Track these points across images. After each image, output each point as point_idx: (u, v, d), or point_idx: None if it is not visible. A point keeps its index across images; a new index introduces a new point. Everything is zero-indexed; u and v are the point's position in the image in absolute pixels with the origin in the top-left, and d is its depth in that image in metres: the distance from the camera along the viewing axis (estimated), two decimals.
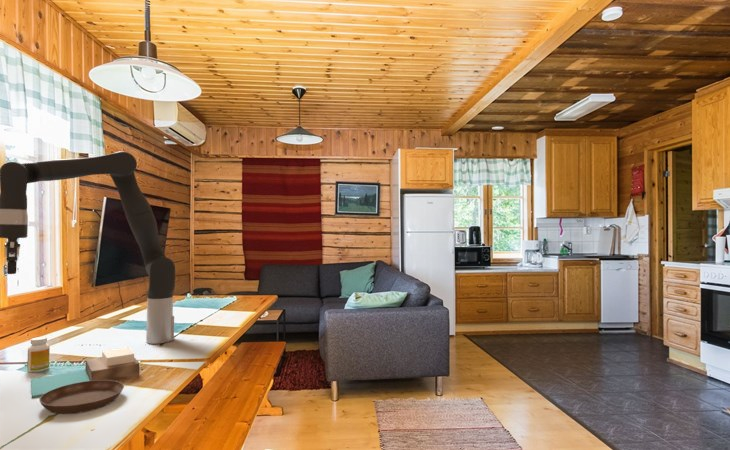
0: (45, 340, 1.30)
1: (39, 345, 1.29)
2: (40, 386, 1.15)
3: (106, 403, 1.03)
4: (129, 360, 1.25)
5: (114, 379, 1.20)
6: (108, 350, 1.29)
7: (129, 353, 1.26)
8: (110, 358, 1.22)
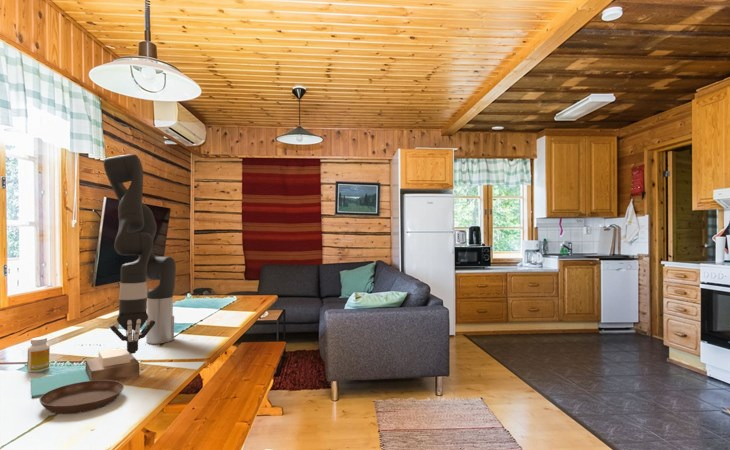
0: (45, 340, 1.30)
1: (39, 345, 1.29)
2: (40, 386, 1.15)
3: (106, 403, 1.03)
4: (125, 361, 1.25)
5: (114, 379, 1.20)
6: None
7: (125, 353, 1.26)
8: (106, 359, 1.22)
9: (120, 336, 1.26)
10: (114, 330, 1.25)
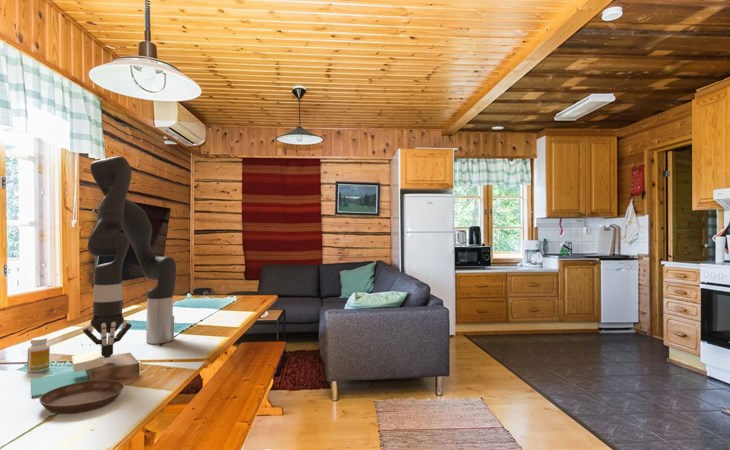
0: (45, 340, 1.30)
1: (39, 345, 1.29)
2: (40, 386, 1.15)
3: (106, 403, 1.03)
4: (98, 364, 1.20)
5: (114, 379, 1.20)
6: (78, 355, 1.24)
7: (98, 357, 1.21)
8: (77, 364, 1.17)
9: (94, 340, 1.22)
10: (87, 333, 1.21)
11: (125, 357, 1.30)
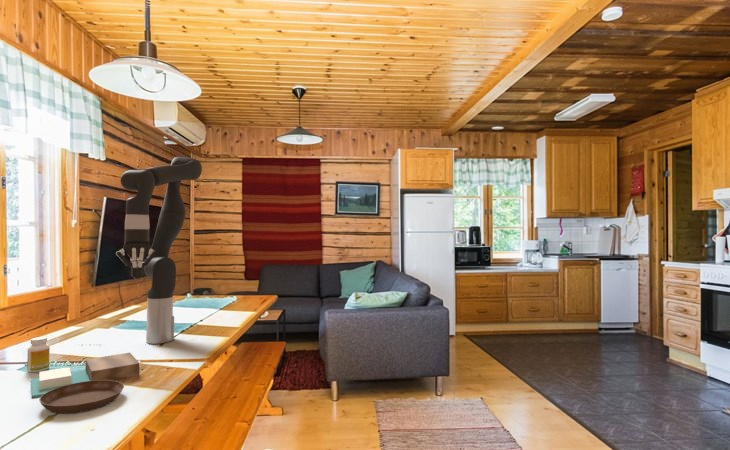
0: (45, 340, 1.30)
1: (39, 345, 1.29)
2: None
3: (106, 403, 1.03)
4: (45, 382, 1.13)
5: (114, 379, 1.20)
6: None
7: None
8: (67, 383, 1.16)
9: (125, 262, 1.41)
10: (120, 256, 1.40)
11: (125, 357, 1.30)
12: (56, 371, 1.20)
